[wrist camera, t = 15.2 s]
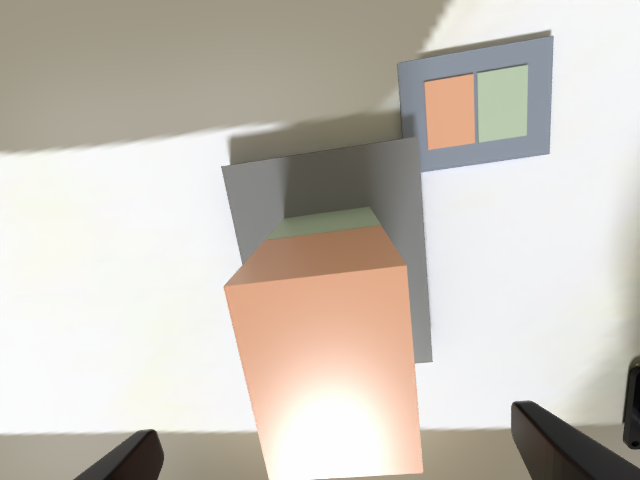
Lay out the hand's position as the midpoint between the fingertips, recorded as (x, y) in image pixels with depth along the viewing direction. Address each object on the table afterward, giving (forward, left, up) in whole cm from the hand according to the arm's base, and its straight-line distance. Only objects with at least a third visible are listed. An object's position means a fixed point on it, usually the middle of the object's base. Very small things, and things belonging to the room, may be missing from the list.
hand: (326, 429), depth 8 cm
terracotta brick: (0, 0, -6) cm, 7 cm away
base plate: (0, 0, -13) cm, 13 cm away
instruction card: (+8, -9, -13) cm, 18 cm away
